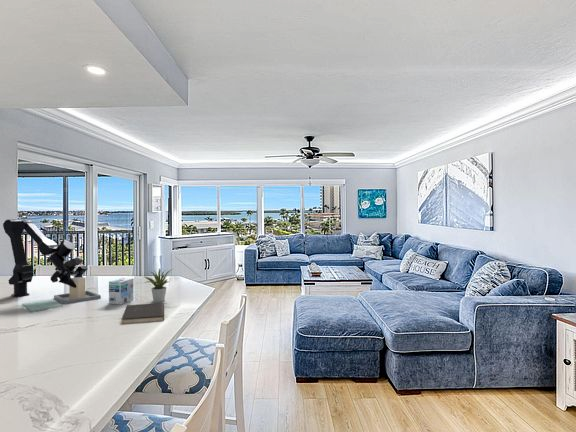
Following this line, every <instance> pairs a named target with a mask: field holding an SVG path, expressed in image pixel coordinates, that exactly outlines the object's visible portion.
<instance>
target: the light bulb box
mask: <svg viewBox="0 0 576 432" xmlns="http://www.w3.org/2000/svg"><path fill="white" fill-rule="evenodd" d="M134 280H135V279H134V278H130V277H121V278H117V279H116V278H115V279H113V280H110V281H108V304H109V305H112V304H113V305H123V304H126V303H128V302H131V301H134V294H135V293H134V287H135V286H134Z"/></svg>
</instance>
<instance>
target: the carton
mask: <svg viewBox="0 0 576 432" xmlns="http://www.w3.org/2000/svg"><path fill="white" fill-rule="evenodd" d="M71 279H72V280H73V282H74V283H75V284H76V286H77V287H76V288H74V287H71V286H69V285H68V286H69V287H68V288H69V289H68V293H69V299H77V298H83V297H85V291H86V277H83V276H82V277H75V278H74V277H71Z"/></svg>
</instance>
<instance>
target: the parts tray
mask: <svg viewBox="0 0 576 432" xmlns="http://www.w3.org/2000/svg"><path fill="white" fill-rule="evenodd" d="M101 298H102V297H101V294H98V293H96V292H93V291H91V290H85V297H83V298H77V299H69V292H68V293H60V294H54V295H53V299H55V301H56V300H57V302H60V303H62V304H65V305H69V304H74V303H75V304H76V303H79V302H86V301H92V300H93V301H94V300H99V299H101Z"/></svg>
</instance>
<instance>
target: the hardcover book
mask: <svg viewBox="0 0 576 432" xmlns="http://www.w3.org/2000/svg"><path fill="white" fill-rule="evenodd" d="M121 321H122V324H131V323H132V322H134V323H143V322H144V323H145V322H157V321H165V304H164V302H154V303H141V304H140V303H139V304H126V306H125V309H124V312H123V314H122V317H121ZM132 324H133V323H132Z"/></svg>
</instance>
